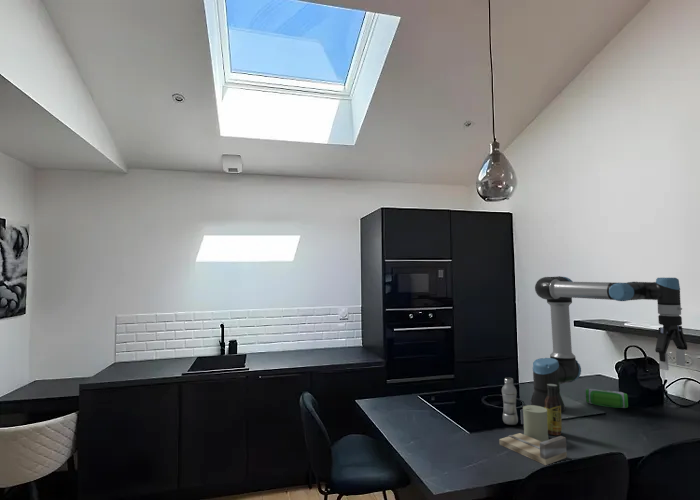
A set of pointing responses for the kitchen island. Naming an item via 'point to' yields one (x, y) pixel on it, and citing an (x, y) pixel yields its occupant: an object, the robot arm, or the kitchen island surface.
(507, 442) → the rail board
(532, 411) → the can
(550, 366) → the robot arm
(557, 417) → the sauce bottle
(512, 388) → the plastic bottle
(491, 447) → the kitchen island surface
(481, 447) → the kitchen island surface
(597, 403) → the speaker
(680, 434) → the kitchen island surface
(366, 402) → the kitchen island surface
